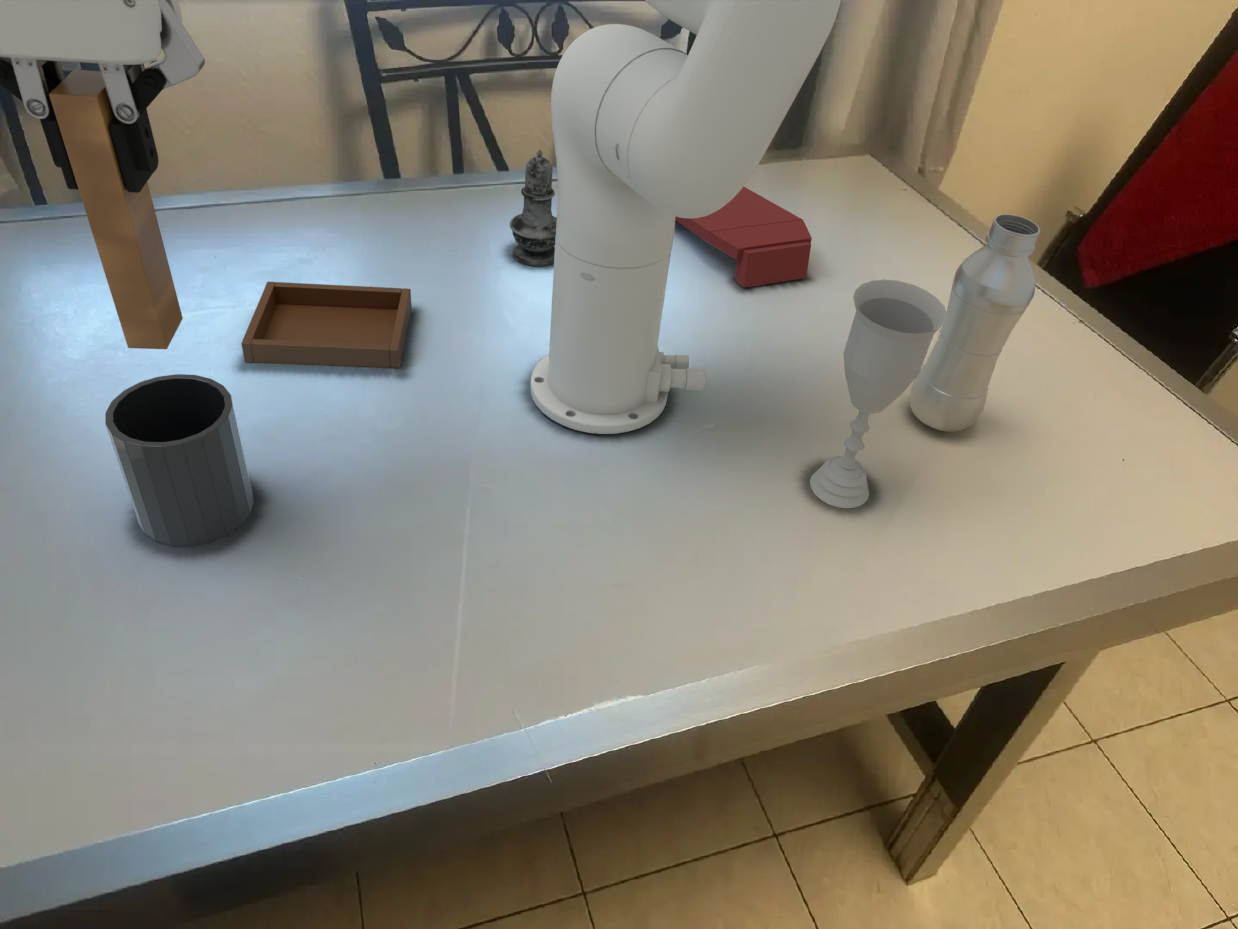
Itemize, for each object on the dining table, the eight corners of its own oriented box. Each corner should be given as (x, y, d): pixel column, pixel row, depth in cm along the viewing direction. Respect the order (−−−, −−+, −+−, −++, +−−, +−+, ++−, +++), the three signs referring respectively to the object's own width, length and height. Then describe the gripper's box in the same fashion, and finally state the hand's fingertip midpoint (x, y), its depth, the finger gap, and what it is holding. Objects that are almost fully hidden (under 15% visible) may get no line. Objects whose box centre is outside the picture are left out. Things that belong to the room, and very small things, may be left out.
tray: (411, 310, 95) (410, 288, 93) (399, 373, 87) (398, 350, 85) (271, 304, 94) (267, 281, 92) (245, 367, 86) (240, 343, 84)
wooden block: (183, 318, 63) (119, 71, 52) (167, 349, 60) (96, 96, 50) (145, 317, 63) (73, 68, 52) (127, 348, 60) (48, 93, 49)
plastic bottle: (925, 389, 93) (998, 198, 80) (987, 423, 90) (1073, 230, 77) (889, 414, 89) (959, 218, 76) (952, 451, 86) (1037, 253, 73)
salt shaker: (572, 253, 107) (579, 149, 99) (541, 273, 103) (546, 167, 95) (529, 236, 109) (533, 133, 101) (498, 255, 105) (499, 149, 97)
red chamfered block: (630, 217, 122) (728, 289, 103) (631, 179, 119) (732, 246, 101) (713, 207, 127) (821, 275, 108) (716, 170, 124) (827, 232, 105)
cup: (264, 479, 75) (244, 376, 69) (240, 553, 69) (215, 448, 63) (159, 476, 74) (127, 371, 68) (125, 550, 68) (87, 444, 62)
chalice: (879, 525, 78) (950, 341, 66) (797, 508, 78) (852, 323, 67) (879, 468, 83) (944, 289, 71) (802, 452, 84) (853, 272, 72)
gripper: (211, -205, 46) (271, 160, 58) (-147, -237, 44) (-8, 145, 57) (165, -180, 40) (242, 218, 53) (-246, -215, 39) (-69, 203, 51)
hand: (112, 177), depth 54 cm, fingers closed on wooden block, 2 cm apart
